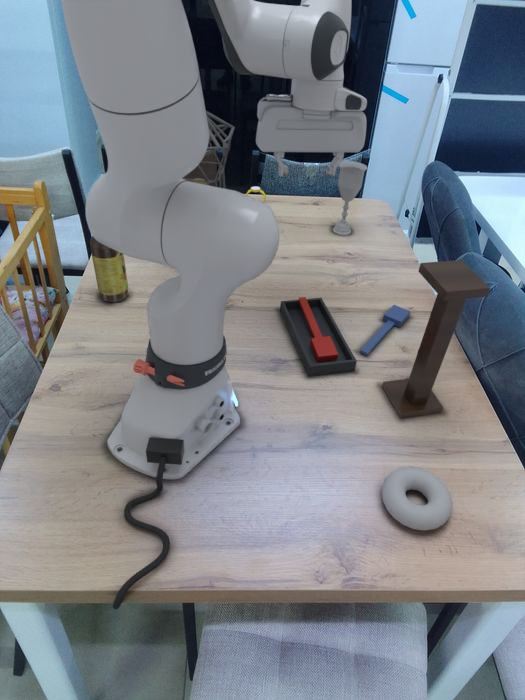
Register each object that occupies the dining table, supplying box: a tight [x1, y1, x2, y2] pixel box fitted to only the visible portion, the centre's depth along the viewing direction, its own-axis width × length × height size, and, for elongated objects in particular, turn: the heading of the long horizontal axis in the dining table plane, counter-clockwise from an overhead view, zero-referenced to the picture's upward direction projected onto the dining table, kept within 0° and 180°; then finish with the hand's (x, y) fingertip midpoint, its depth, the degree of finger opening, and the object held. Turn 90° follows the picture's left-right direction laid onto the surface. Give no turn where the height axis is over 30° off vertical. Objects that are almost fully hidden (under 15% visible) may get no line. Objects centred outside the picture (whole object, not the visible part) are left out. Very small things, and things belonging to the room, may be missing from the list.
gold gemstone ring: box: [245, 185, 267, 204], centre depth 147 cm, size 6×3×6 cm, turn 85°
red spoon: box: [297, 296, 338, 362], centre depth 102 cm, size 18×4×2 cm, turn 13°
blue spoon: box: [359, 304, 411, 357], centre depth 105 cm, size 18×4×2 cm, turn 144°
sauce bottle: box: [89, 234, 129, 303], centre depth 104 cm, size 6×6×20 cm
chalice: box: [332, 160, 368, 236], centre depth 135 cm, size 7×7×18 cm
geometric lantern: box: [182, 110, 236, 189], centre depth 113 cm, size 16×16×35 cm
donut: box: [381, 466, 453, 531], centre depth 73 cm, size 10×4×10 cm
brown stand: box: [381, 259, 491, 419], centre depth 83 cm, size 8×8×26 cm
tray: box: [279, 297, 358, 377], centre depth 102 cm, size 21×9×2 cm, turn 13°
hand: (306, 175), depth 96 cm, fingers open, 8 cm apart
